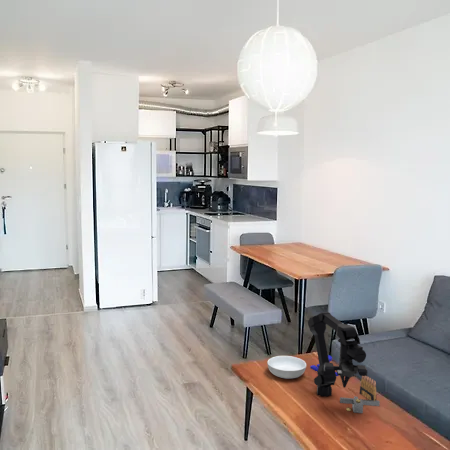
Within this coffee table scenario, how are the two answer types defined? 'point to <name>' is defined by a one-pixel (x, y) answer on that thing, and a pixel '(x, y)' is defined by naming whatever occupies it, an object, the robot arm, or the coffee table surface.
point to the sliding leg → (357, 405)
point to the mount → (318, 365)
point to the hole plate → (365, 402)
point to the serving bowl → (286, 366)
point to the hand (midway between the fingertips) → (344, 387)
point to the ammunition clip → (368, 388)
